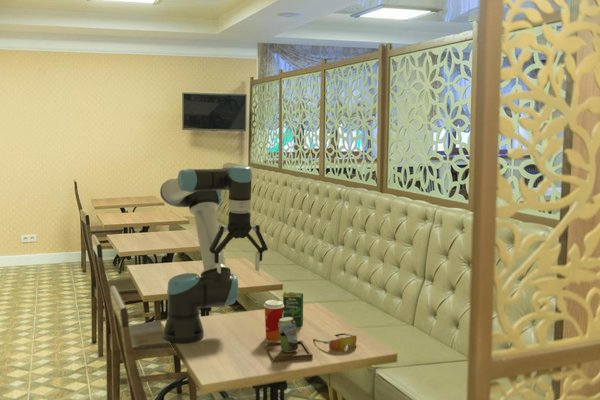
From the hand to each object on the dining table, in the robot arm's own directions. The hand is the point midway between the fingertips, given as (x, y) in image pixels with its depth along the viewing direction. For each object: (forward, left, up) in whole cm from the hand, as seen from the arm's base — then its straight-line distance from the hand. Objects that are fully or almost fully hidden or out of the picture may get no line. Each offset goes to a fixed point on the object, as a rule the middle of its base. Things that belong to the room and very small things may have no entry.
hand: (238, 271), depth 228 cm
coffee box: (-26, +27, -30) cm, 48 cm away
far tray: (+4, +18, -30) cm, 35 cm away
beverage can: (+4, +18, -29) cm, 34 cm away
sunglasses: (-2, +37, -30) cm, 48 cm away
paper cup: (-12, +16, -30) cm, 36 cm away
